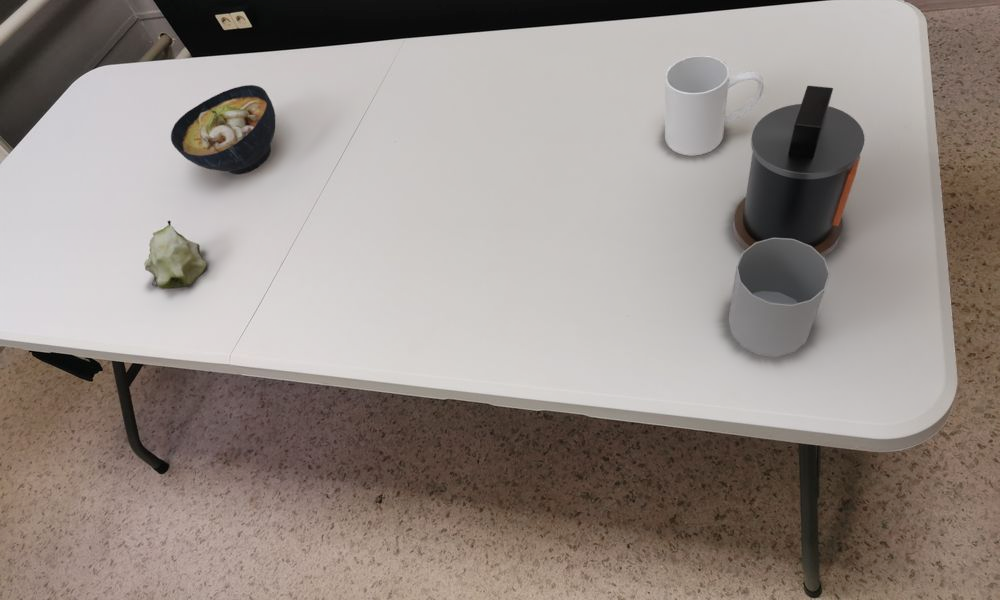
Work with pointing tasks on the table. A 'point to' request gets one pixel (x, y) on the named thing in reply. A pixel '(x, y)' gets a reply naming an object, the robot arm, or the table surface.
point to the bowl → (228, 131)
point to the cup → (776, 296)
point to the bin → (801, 170)
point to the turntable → (748, 241)
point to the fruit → (173, 259)
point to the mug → (700, 103)
